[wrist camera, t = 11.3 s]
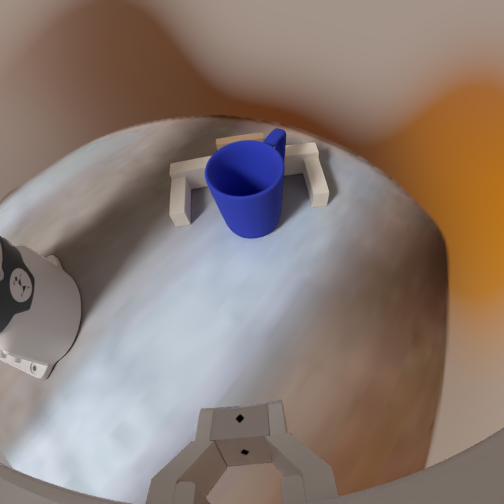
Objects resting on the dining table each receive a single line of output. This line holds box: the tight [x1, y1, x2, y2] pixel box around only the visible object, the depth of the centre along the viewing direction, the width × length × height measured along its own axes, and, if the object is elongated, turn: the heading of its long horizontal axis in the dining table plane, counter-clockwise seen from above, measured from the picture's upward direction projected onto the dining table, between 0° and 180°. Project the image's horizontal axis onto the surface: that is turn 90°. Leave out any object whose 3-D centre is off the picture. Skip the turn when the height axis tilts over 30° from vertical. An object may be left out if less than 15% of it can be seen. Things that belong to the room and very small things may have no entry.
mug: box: [205, 128, 286, 239], centre depth 35 cm, size 8×12×10 cm
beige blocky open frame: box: [169, 132, 329, 227], centre depth 38 cm, size 20×8×7 cm, turn 96°
